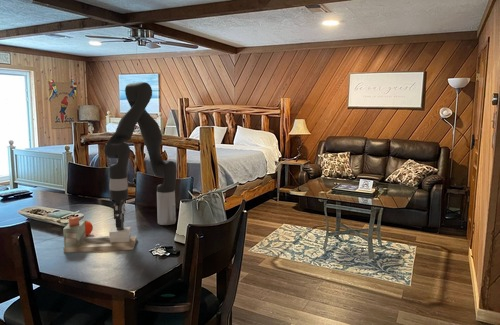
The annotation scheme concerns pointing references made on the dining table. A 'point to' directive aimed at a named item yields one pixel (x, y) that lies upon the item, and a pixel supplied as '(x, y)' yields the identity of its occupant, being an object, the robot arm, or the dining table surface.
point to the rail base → (103, 246)
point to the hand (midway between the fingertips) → (120, 224)
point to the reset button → (74, 221)
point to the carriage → (120, 233)
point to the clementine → (88, 228)
